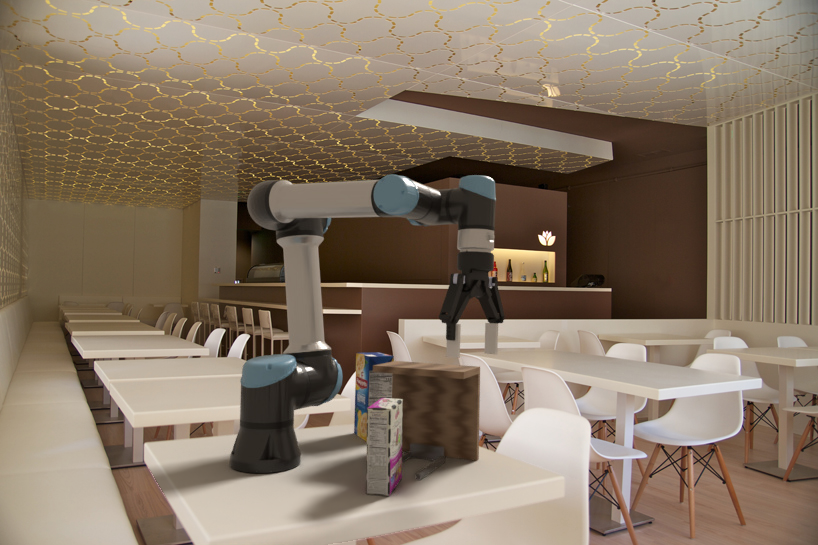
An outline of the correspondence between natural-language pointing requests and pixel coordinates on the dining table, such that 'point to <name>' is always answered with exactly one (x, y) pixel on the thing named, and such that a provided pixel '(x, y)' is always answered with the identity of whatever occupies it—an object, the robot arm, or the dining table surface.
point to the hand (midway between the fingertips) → (472, 355)
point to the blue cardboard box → (369, 387)
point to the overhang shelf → (437, 410)
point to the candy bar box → (384, 446)
